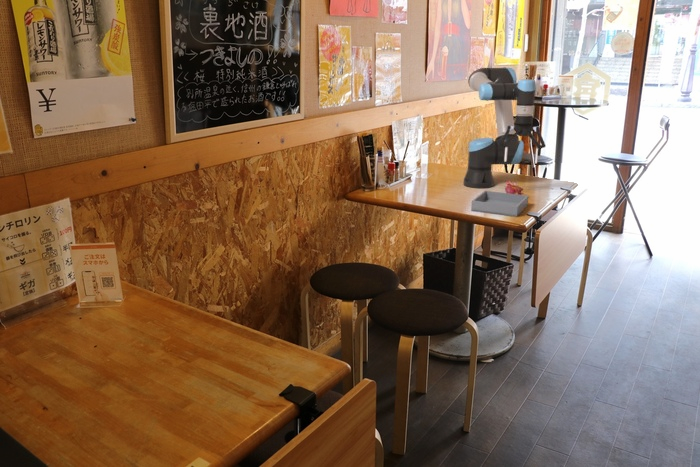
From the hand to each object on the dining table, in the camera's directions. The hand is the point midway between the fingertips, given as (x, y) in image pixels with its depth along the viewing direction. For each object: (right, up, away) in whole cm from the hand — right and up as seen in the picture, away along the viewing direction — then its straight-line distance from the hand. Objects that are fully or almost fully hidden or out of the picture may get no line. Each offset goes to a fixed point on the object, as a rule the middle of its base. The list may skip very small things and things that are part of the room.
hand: (520, 162), depth 264 cm
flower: (-2, -16, +4) cm, 17 cm away
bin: (-13, -22, -12) cm, 28 cm away
